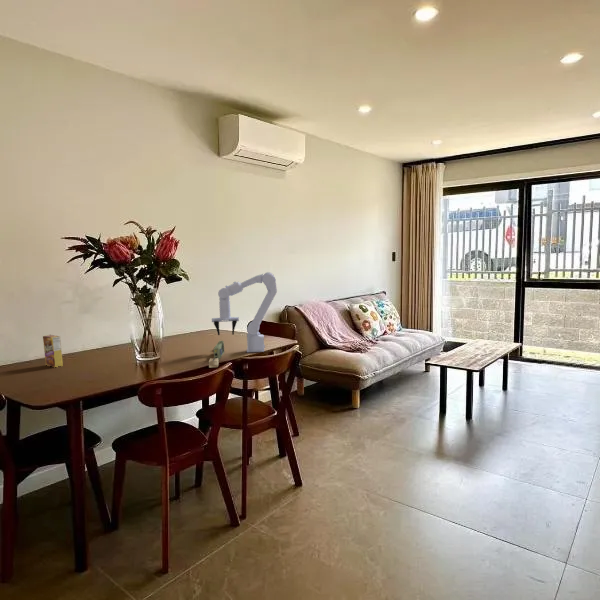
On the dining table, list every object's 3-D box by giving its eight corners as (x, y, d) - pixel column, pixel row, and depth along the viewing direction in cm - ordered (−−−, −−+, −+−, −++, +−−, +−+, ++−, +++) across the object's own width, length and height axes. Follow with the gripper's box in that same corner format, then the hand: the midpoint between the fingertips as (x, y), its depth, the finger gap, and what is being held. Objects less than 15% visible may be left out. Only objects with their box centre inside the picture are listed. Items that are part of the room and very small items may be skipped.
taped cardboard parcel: (224, 348, 258) (223, 343, 258) (217, 367, 216) (217, 360, 216) (216, 348, 258) (216, 343, 257) (209, 367, 216) (208, 361, 216)
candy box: (44, 366, 228) (42, 335, 226) (53, 364, 231) (50, 334, 230) (54, 368, 223) (52, 337, 221) (63, 366, 226) (60, 335, 225)
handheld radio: (225, 352, 250) (218, 363, 225) (219, 352, 250) (211, 363, 225) (224, 340, 249) (217, 350, 224) (218, 340, 249) (210, 350, 224)
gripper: (210, 311, 243) (211, 336, 245) (238, 310, 244) (239, 335, 246) (211, 309, 250) (213, 334, 252) (238, 308, 251) (239, 333, 253)
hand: (225, 334), depth 249 cm, fingers open, 7 cm apart
